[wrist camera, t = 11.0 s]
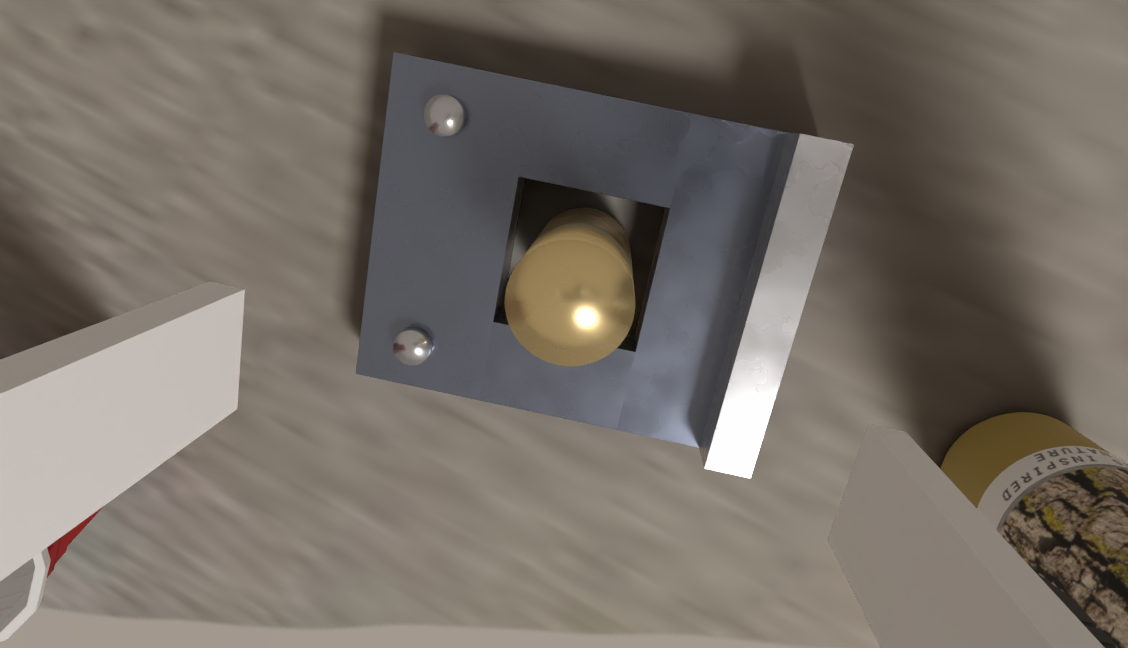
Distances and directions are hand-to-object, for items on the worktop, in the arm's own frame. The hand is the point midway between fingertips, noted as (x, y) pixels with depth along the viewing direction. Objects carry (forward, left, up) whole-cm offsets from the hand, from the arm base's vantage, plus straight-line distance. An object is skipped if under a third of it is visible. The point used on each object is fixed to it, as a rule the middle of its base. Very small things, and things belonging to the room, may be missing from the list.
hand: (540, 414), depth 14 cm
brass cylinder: (0, 0, -18) cm, 18 cm away
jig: (0, 0, -18) cm, 18 cm away
